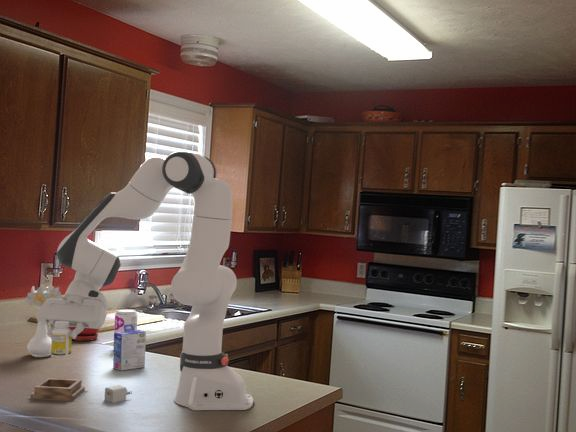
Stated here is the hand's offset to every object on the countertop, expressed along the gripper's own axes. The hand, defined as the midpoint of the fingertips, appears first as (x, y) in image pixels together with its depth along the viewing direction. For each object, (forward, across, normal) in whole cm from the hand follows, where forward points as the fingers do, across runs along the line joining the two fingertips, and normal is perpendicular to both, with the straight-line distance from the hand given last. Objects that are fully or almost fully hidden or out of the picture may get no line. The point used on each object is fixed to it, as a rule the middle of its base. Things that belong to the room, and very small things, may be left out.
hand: (60, 336), depth 195 cm
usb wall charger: (+10, +17, +14) cm, 25 cm away
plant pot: (-43, -35, +66) cm, 87 cm away
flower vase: (-19, -32, +42) cm, 56 cm away
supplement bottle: (+4, 0, +4) cm, 6 cm away
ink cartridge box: (-16, +2, +40) cm, 43 cm away
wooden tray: (+12, 0, +12) cm, 16 cm away
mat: (+12, 0, +12) cm, 17 cm away
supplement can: (-34, -11, +58) cm, 68 cm away
